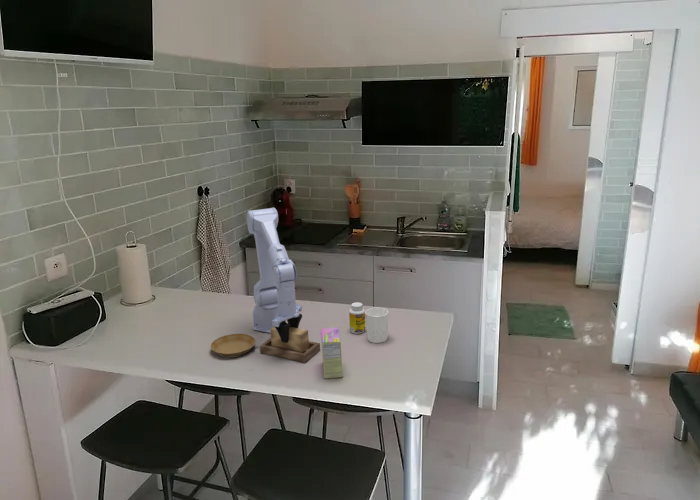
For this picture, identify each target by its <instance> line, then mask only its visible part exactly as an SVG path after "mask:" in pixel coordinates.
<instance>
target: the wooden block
mask: <svg viewBox="0 0 700 500" xmlns="http://www.w3.org/2000/svg"><path fill="white" fill-rule="evenodd" d="M270 332H271V333H270V338H271V344H272V346H276V347H280V348H285V349H290V350H294V351H299V352H304V351H305V350H306V349H307V348H309V341H310V339H309V330H308V329H304V328H299V327H298V328H294V327H290V328H289V340H288V342H287V343H284V342H282V341H281V338H280V335H279V333H278V331H277V329H276V328H275V327H272V328H271V329H270Z"/></svg>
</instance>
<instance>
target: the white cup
mask: <svg viewBox="0 0 700 500" xmlns="http://www.w3.org/2000/svg"><path fill="white" fill-rule="evenodd" d="M389 315H390V314H389V310H388V309H387V308H384V307H371V308H368V309H365V329H366V333H367V335H366V336H367V340H368V342H369V343H370V342H371V343H374V344H382V343H384V342H387V340H388V332H389Z"/></svg>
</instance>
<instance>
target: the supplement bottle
mask: <svg viewBox="0 0 700 500" xmlns="http://www.w3.org/2000/svg"><path fill="white" fill-rule="evenodd" d="M365 311H366V309H365V308H364V307H363V303H362V302H353V303H351V307H350V308H349V312H348V314H349V317H348V318H349V332H350V333H352V334H353V335H354V334H356V335H359V334H363V333H364V332H365V331H366V316H365Z"/></svg>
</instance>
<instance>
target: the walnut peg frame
mask: <svg viewBox="0 0 700 500" xmlns="http://www.w3.org/2000/svg"><path fill="white" fill-rule="evenodd" d="M320 351H321V343H320V342H317V341H316V342H315V341H310V340H309V348H307V349H306V350H305V351H304V352H299V351H294V350H290V349H285V348H280V347H276V346H272V344H271V337H270V338H269V339H267V340H266V341H264V342H263V343H261V344H260V345H259V353H260V354H262V355H263V354H264V355H267V356H271V357H276V358H281V359H286V360H290V361H293V362H298V363H303V364H306V363H307V362H309V361H310V360H311V359H312V358H313V357H315V356H316V355H317V354H318V353H319V352H320Z"/></svg>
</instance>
